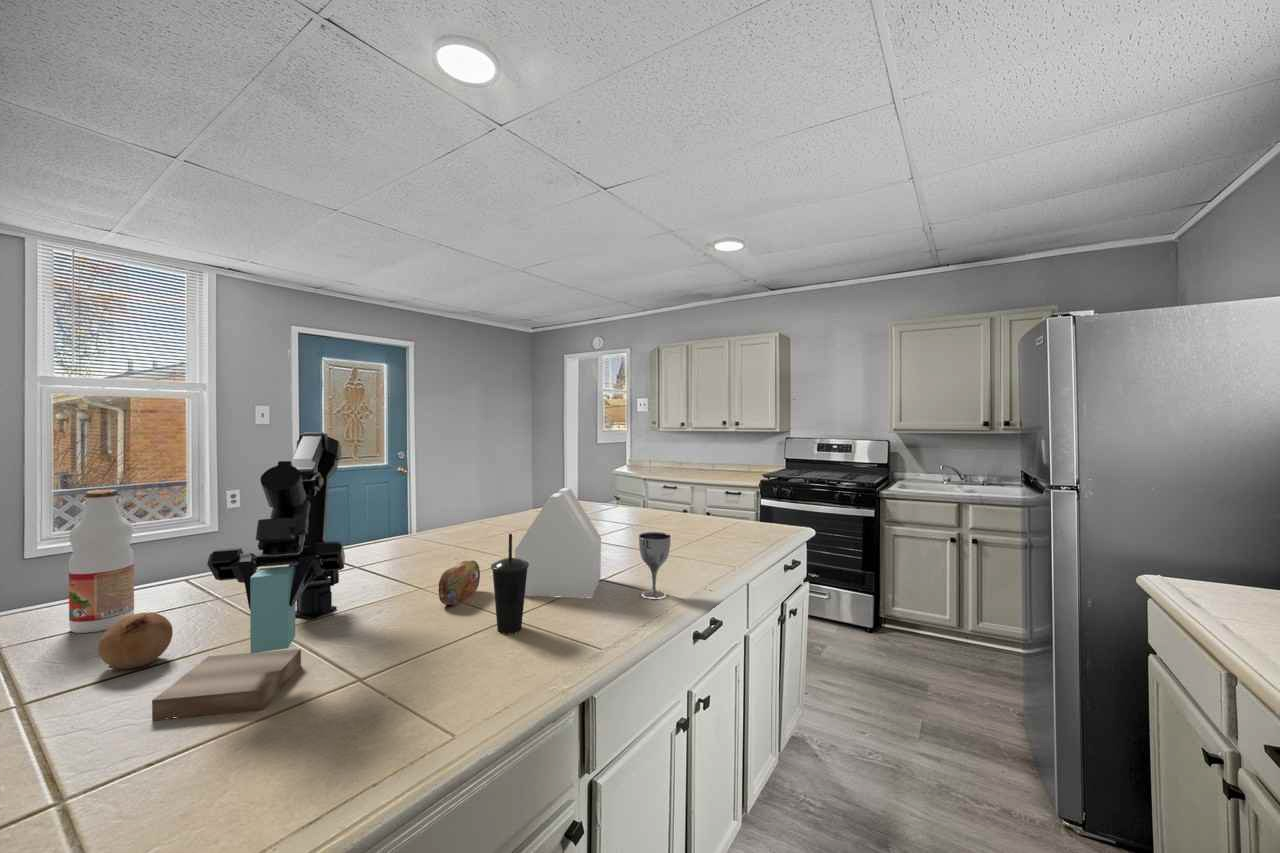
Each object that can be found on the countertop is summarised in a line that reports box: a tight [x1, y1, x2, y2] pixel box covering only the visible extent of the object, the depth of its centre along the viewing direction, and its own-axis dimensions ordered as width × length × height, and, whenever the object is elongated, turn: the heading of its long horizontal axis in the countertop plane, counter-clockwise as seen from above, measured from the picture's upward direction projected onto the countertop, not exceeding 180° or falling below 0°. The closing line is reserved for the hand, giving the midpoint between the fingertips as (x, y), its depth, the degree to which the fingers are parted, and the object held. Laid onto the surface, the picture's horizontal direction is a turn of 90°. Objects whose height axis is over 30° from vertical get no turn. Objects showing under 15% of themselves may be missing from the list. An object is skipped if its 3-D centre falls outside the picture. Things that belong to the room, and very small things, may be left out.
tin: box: [438, 560, 481, 607], centre depth 126 cm, size 15×3×8 cm, turn 168°
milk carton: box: [514, 487, 602, 598], centre depth 135 cm, size 19×15×25 cm
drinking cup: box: [490, 533, 529, 635], centre depth 108 cm, size 8×8×20 cm
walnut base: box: [151, 648, 302, 721], centre depth 83 cm, size 14×14×3 cm
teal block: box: [249, 565, 296, 653], centre depth 85 cm, size 5×5×12 cm
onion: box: [98, 611, 174, 670], centre depth 91 cm, size 10×9×10 cm
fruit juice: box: [68, 489, 135, 634], centre depth 108 cm, size 9×9×28 cm
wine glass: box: [638, 531, 672, 598], centre depth 130 cm, size 8×8×15 cm
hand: (271, 607), depth 83 cm, fingers closed on teal block, 5 cm apart
